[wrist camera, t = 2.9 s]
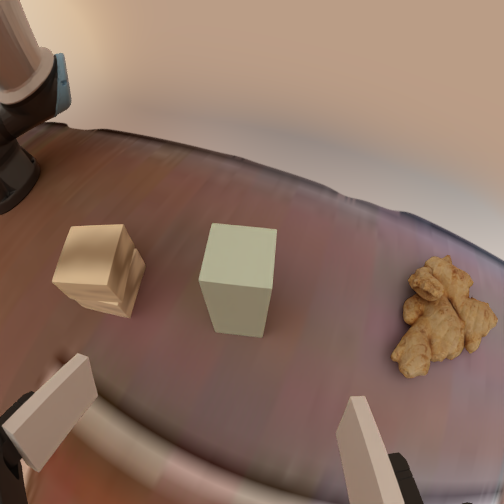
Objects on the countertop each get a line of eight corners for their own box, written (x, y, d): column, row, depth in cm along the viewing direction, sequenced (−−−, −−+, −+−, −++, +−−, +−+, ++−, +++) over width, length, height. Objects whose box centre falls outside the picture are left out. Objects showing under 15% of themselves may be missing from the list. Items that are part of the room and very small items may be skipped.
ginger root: (465, 261, 33) (497, 242, 25) (466, 369, 28) (503, 368, 20) (377, 251, 34) (403, 225, 27) (372, 375, 29) (401, 381, 22)
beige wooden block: (101, 260, 34) (89, 243, 30) (146, 266, 33) (136, 248, 30) (83, 307, 30) (68, 293, 27) (130, 319, 30) (117, 305, 26)
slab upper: (85, 246, 30) (71, 226, 27) (134, 246, 30) (123, 224, 27) (70, 298, 26) (51, 281, 23) (122, 302, 26) (106, 285, 23)
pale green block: (222, 290, 32) (212, 223, 22) (266, 295, 32) (276, 229, 22) (215, 332, 29) (198, 280, 19) (262, 337, 29) (272, 288, 19)
